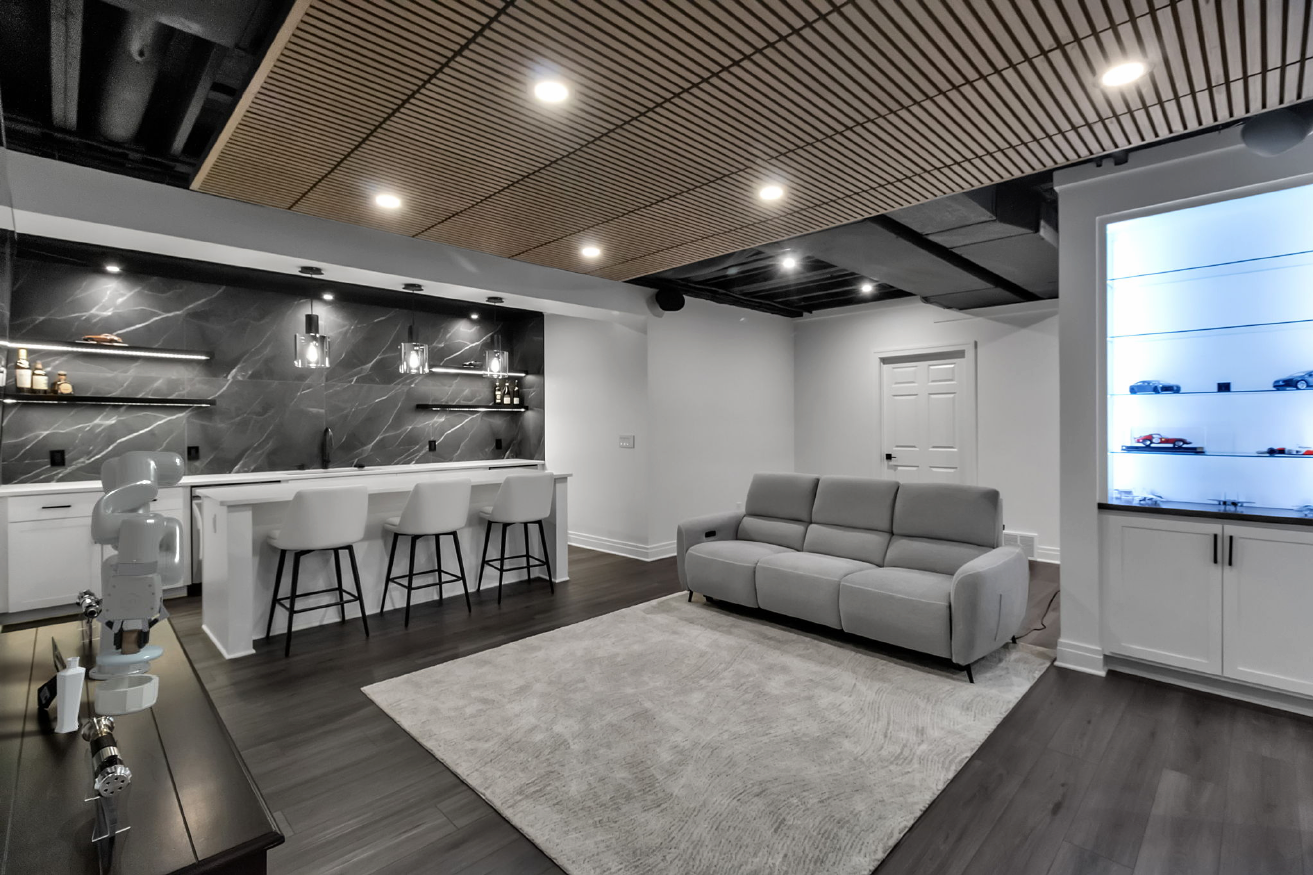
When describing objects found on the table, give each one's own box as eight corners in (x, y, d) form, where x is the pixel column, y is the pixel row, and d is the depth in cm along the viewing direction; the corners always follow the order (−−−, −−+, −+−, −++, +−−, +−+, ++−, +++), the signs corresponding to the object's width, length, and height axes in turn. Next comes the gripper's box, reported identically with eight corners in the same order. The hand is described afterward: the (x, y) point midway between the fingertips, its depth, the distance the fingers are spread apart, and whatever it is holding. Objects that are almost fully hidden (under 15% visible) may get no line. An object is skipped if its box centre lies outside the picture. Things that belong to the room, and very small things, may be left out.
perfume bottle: (87, 726, 137) (93, 657, 137) (62, 735, 132) (68, 662, 133) (73, 722, 138) (79, 653, 139) (49, 730, 134) (55, 659, 134)
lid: (108, 651, 151) (110, 625, 152) (169, 648, 156) (171, 622, 156) (86, 667, 140) (88, 639, 141) (152, 663, 145) (154, 636, 145)
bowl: (106, 699, 151) (107, 676, 151) (162, 695, 155) (164, 672, 155) (86, 718, 141) (88, 693, 141) (147, 712, 145) (149, 688, 145)
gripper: (85, 572, 142) (78, 655, 142) (175, 571, 149) (169, 650, 148) (99, 567, 149) (92, 645, 148) (184, 565, 156) (178, 641, 155)
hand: (131, 647), depth 148 cm, fingers closed on lid, 3 cm apart
